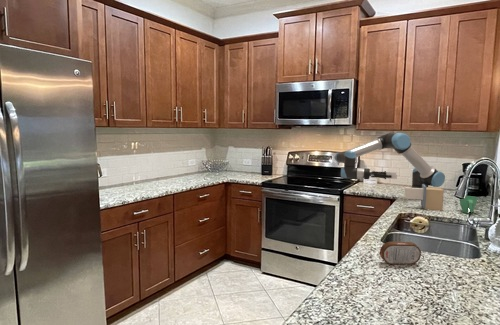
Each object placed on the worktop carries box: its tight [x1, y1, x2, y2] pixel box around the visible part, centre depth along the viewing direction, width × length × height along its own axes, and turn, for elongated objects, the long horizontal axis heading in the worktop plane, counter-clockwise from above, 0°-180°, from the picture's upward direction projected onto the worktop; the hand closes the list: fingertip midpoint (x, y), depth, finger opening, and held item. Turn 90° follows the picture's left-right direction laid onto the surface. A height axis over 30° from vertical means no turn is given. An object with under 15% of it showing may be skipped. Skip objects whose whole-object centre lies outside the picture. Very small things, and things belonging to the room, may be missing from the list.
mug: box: [459, 195, 478, 214], centre depth 209 cm, size 15×10×10 cm
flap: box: [404, 184, 426, 210], centre depth 224 cm, size 12×13×14 cm
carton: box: [424, 186, 445, 212], centre depth 221 cm, size 10×10×14 cm
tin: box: [379, 241, 422, 266], centre depth 126 cm, size 15×3×8 cm, turn 90°
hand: (396, 175), depth 225 cm, fingers open, 13 cm apart
